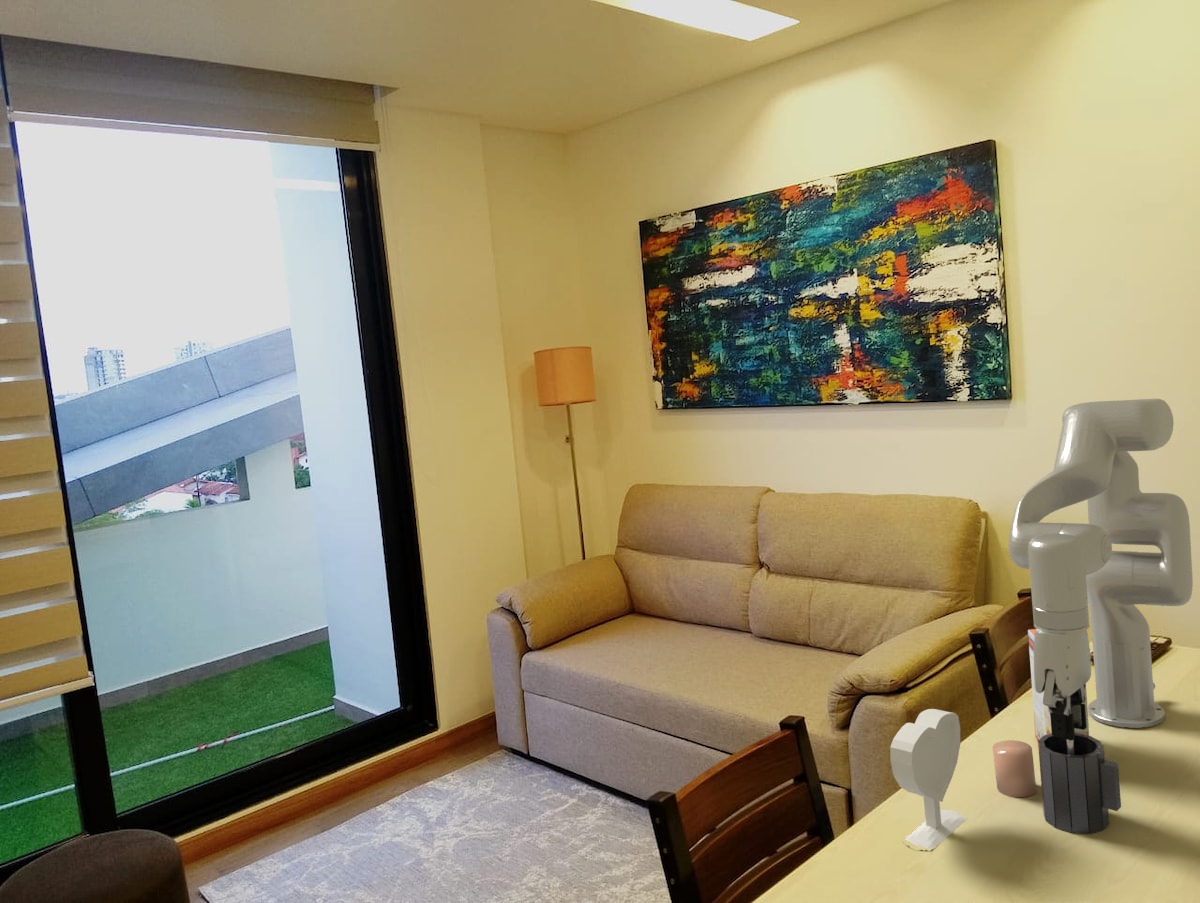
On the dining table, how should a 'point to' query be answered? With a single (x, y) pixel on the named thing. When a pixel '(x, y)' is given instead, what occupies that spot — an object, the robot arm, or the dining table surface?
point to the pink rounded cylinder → (1014, 768)
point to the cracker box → (1041, 710)
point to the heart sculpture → (928, 770)
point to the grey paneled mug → (1077, 784)
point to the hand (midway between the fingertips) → (1069, 731)
